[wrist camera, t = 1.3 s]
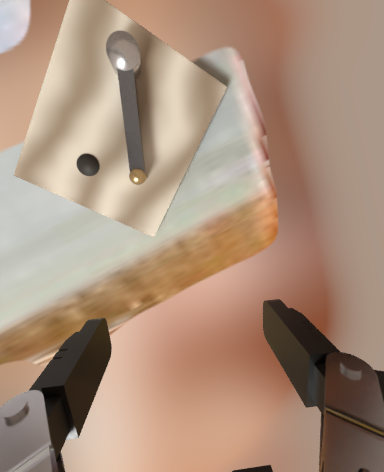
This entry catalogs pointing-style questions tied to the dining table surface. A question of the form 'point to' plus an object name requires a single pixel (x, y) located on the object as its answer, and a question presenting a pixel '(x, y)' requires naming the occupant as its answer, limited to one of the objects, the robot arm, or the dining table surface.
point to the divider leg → (129, 97)
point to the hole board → (115, 119)
